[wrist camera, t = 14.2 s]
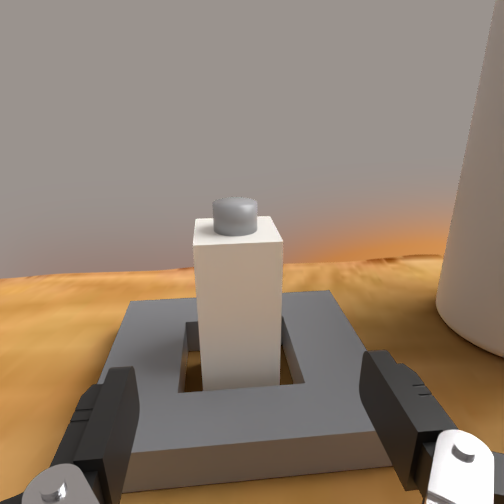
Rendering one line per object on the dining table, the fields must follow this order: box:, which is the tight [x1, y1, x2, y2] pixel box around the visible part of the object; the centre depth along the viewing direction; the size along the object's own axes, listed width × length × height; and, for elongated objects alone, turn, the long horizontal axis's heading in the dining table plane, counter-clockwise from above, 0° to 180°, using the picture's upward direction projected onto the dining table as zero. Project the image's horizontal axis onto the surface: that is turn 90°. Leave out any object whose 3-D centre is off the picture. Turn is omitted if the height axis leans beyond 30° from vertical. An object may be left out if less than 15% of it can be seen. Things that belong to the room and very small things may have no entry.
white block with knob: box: [193, 197, 283, 391], centre depth 22 cm, size 4×4×12 cm
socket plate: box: [97, 290, 393, 493], centre depth 24 cm, size 16×14×2 cm
